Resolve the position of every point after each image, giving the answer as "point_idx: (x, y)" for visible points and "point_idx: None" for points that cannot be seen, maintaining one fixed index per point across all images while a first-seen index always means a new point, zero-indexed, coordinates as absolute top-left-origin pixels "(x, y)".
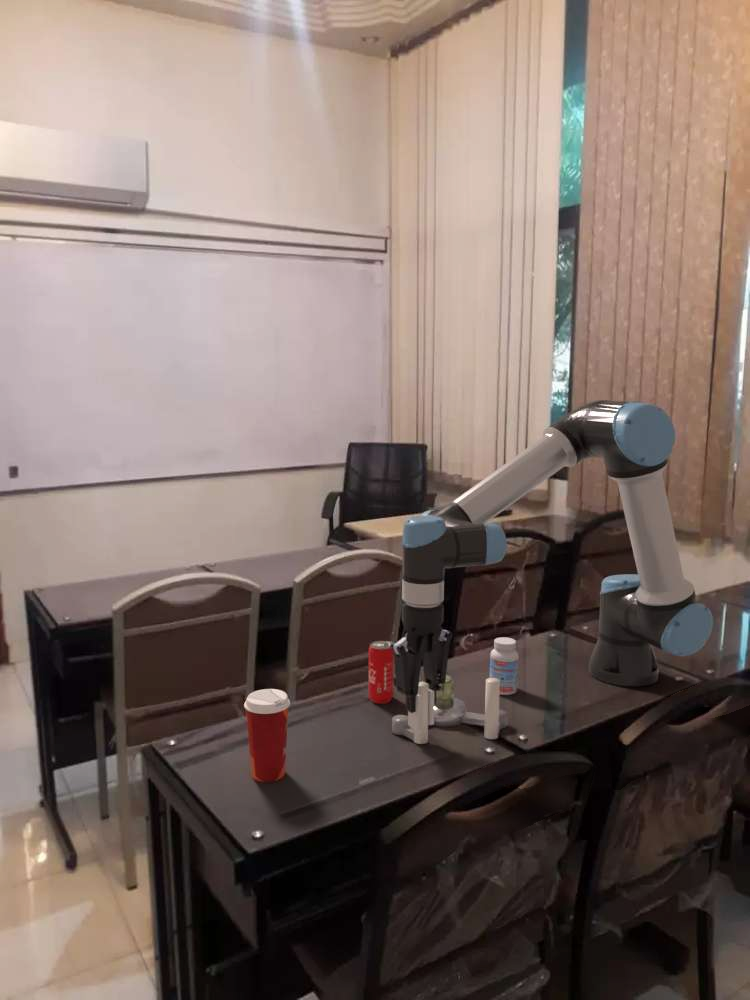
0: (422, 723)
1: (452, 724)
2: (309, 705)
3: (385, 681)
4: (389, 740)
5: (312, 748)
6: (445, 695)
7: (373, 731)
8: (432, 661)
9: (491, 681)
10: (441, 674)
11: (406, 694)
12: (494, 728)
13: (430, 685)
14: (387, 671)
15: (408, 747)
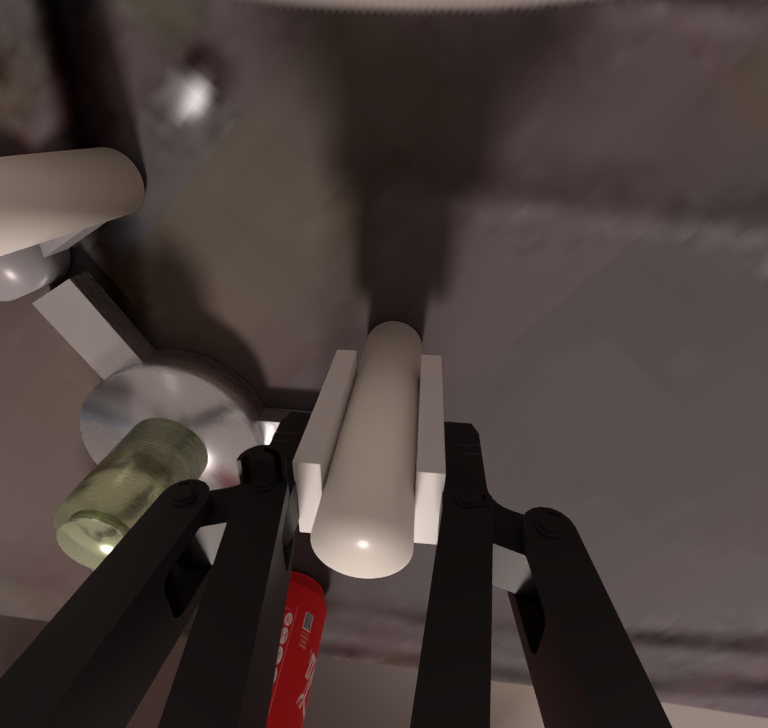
0: (404, 368)
1: (202, 358)
2: None
3: (280, 644)
4: (470, 421)
5: (694, 528)
6: (151, 465)
7: None
8: (222, 726)
9: None
10: (174, 544)
11: (560, 518)
12: (79, 153)
13: (289, 511)
14: None
15: (460, 345)
